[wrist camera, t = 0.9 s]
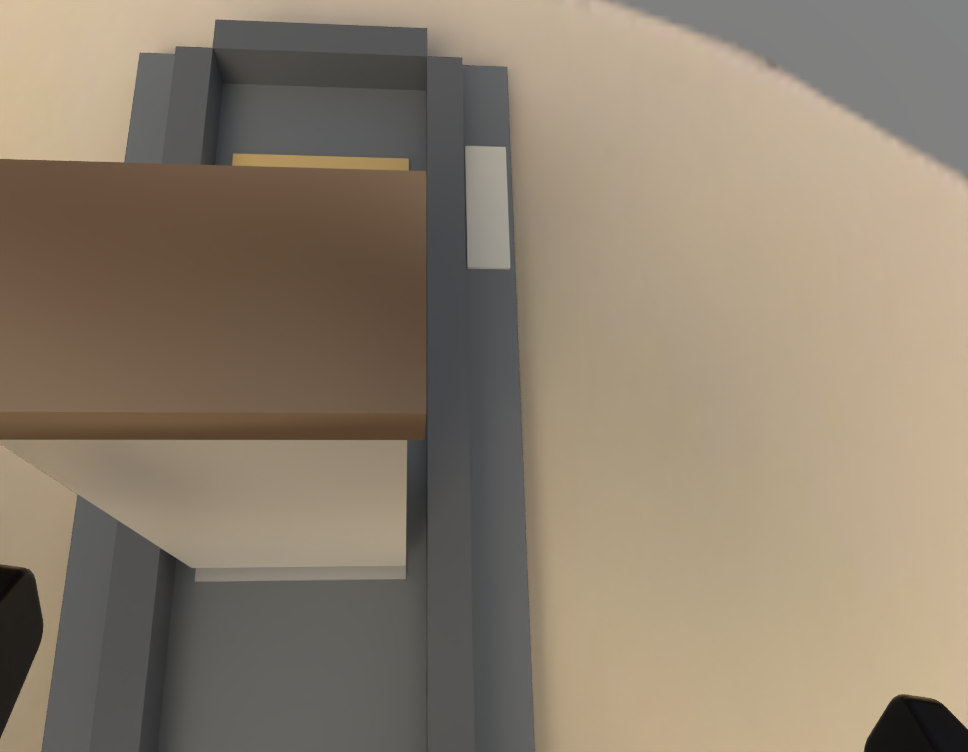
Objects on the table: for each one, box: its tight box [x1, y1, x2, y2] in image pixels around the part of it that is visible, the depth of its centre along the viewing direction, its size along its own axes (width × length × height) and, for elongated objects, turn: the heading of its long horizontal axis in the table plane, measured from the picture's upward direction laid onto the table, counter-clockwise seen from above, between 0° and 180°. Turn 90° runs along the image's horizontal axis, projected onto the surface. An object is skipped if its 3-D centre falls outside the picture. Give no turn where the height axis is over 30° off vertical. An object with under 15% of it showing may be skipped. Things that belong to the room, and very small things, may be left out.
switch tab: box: [0, 159, 426, 568], centre depth 15 cm, size 3×5×12 cm, turn 91°
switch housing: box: [41, 20, 535, 752], centre depth 23 cm, size 22×11×2 cm, turn 1°
